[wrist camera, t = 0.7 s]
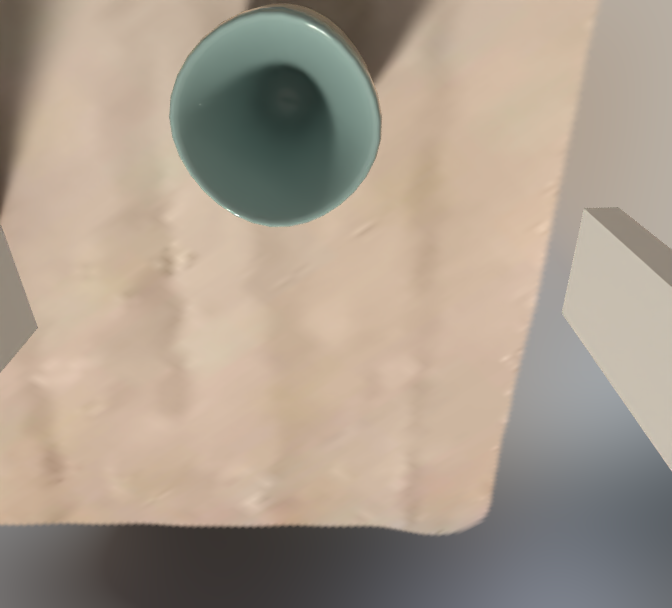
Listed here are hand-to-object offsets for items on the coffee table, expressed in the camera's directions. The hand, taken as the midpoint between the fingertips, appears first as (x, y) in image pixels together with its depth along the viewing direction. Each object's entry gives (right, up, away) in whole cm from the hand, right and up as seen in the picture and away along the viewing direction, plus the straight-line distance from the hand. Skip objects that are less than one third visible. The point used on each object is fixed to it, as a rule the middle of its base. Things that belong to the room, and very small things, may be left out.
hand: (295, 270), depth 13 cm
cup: (-1, +11, +16) cm, 19 cm away
